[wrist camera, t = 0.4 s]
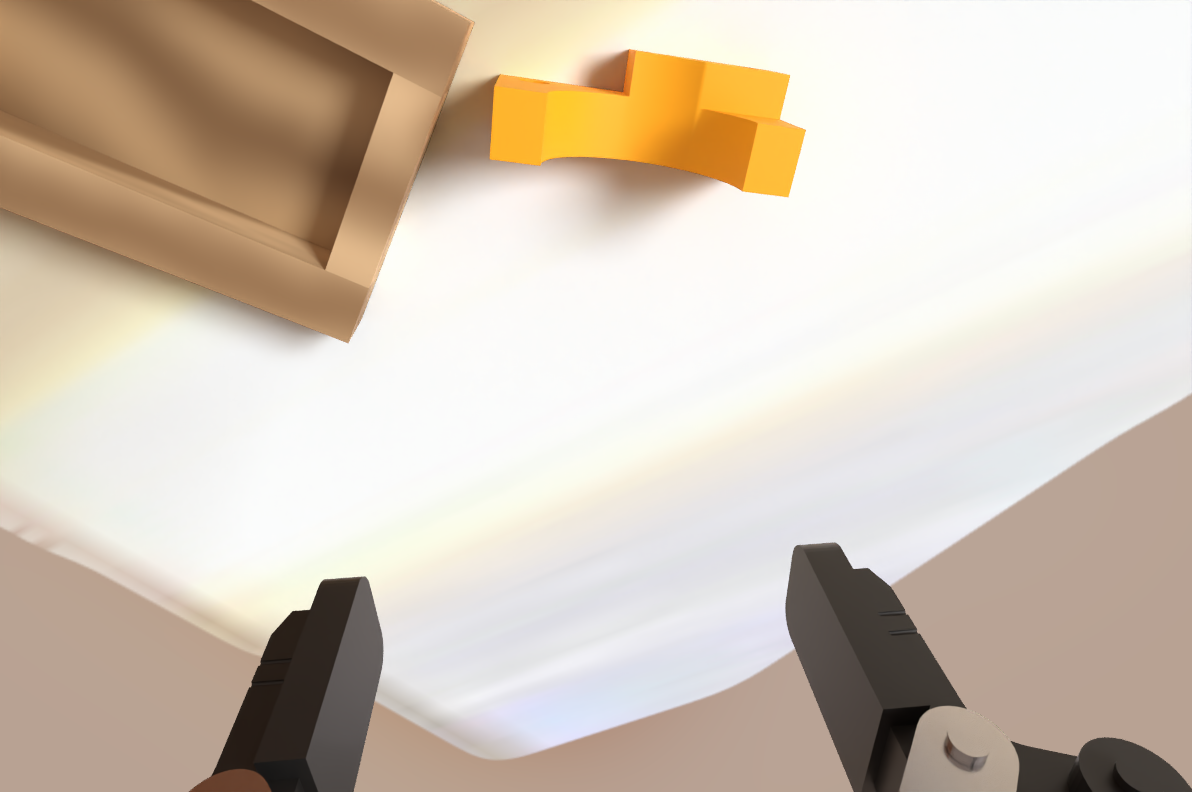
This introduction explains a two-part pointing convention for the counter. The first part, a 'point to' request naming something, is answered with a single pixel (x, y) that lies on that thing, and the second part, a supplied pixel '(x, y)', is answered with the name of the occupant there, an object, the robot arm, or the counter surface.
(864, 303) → the counter surface
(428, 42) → the wooden tray
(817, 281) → the counter surface
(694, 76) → the pipe clamp
